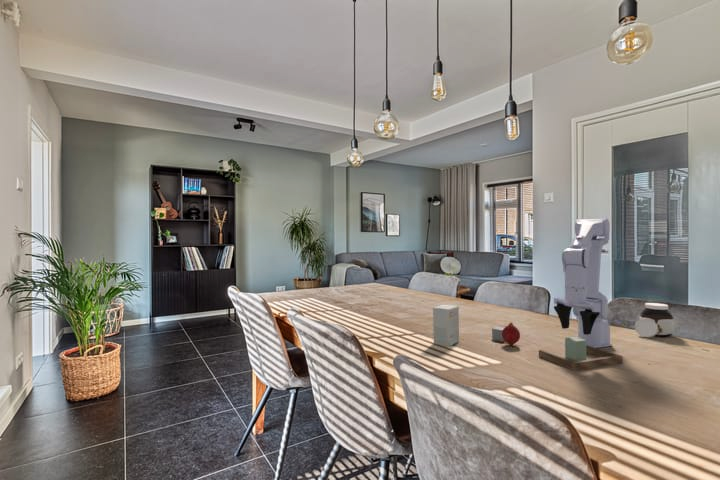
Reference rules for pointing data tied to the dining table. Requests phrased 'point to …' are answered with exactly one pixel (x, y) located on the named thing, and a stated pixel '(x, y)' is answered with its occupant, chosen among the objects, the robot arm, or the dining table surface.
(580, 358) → the sage block
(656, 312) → the spread jar
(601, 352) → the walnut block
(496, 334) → the light gray block
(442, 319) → the small box
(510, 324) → the red round fruit
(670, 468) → the dining table surface
